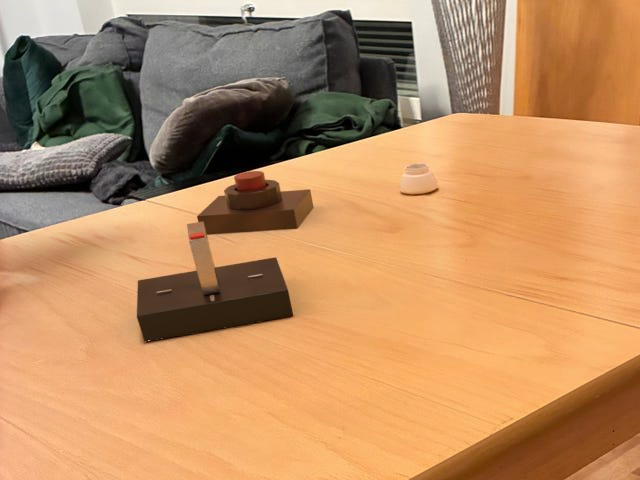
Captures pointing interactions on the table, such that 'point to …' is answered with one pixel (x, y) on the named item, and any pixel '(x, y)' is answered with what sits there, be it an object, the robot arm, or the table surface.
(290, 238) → the table surface
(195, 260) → the grey switch lever
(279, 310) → the lever switch base
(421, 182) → the white jar
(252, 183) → the button
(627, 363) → the table surface
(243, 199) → the button block
